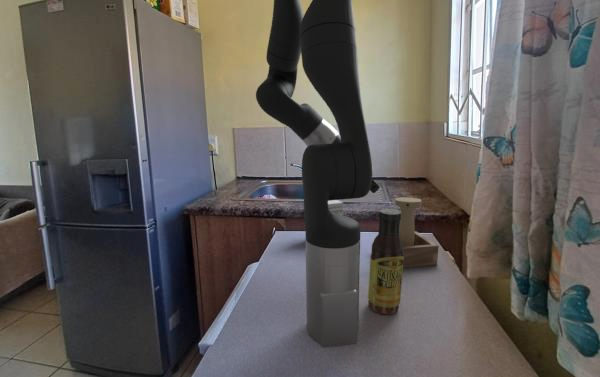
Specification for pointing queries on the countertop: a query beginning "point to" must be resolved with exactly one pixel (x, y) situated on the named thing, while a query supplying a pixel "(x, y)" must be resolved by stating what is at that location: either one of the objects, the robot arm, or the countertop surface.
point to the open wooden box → (420, 252)
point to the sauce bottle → (386, 265)
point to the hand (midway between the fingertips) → (370, 186)
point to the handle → (407, 219)
